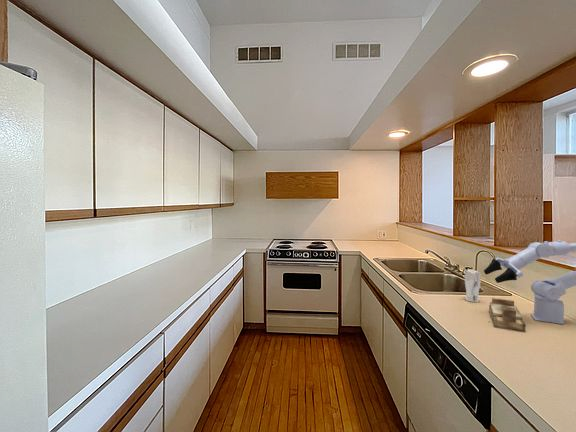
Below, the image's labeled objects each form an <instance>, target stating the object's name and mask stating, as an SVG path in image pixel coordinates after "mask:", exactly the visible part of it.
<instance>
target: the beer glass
mask: <svg viewBox="0 0 576 432" xmlns="http://www.w3.org/2000/svg"><path fill="white" fill-rule="evenodd" d="M481 278H482V275H481V271H479V270H475V269H466V270H465V272H464V285H465V292H466V293H465V299H464V300H465V301H467V302H470V303H479V302H480V298H479V297H480V296H479V292H480V288H481V284H482V283H481V281H482V279H481Z"/></svg>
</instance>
